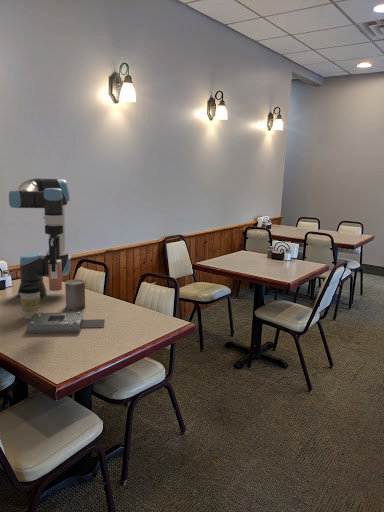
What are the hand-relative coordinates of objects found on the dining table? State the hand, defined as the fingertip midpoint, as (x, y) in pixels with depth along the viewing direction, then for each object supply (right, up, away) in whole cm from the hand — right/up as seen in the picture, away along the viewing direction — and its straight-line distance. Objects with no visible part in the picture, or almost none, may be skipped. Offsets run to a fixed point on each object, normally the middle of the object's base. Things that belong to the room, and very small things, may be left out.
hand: (55, 276), depth 181 cm
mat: (+15, -23, +9) cm, 28 cm away
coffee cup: (-17, -20, +15) cm, 31 cm away
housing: (-1, -23, +5) cm, 23 cm away
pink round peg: (0, -6, +1) cm, 6 cm away
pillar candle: (0, -18, +32) cm, 36 cm away
